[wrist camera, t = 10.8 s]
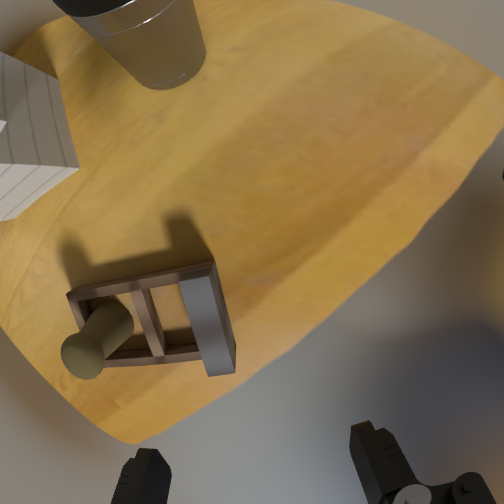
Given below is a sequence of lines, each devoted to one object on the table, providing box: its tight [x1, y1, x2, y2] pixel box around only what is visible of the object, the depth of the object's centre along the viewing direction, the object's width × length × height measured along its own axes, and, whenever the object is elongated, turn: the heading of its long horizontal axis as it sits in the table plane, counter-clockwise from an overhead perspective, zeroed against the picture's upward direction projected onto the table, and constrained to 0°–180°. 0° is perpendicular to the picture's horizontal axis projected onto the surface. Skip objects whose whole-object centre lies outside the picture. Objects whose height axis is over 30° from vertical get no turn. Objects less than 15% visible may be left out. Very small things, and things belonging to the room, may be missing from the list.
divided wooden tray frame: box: [66, 260, 236, 377], centre depth 30 cm, size 11×20×6 cm, turn 101°
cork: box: [61, 300, 134, 380], centre depth 28 cm, size 6×6×11 cm
